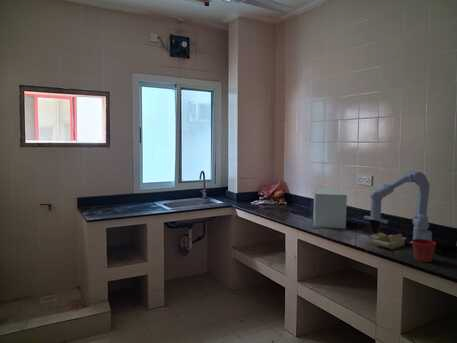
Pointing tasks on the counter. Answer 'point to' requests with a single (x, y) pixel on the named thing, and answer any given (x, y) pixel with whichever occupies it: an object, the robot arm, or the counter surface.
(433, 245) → the flower pot
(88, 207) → the counter surface
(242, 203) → the counter surface
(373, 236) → the flap far
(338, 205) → the cube
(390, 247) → the carton
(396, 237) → the flap near
